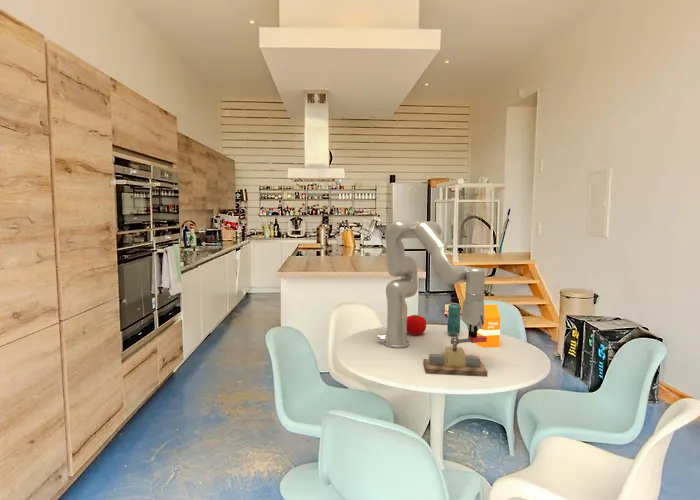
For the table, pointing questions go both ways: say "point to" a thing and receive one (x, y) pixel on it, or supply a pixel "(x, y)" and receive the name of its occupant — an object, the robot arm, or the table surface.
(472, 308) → the robot arm
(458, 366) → the valve
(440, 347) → the table surface
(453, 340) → the lever
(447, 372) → the board
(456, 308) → the beverage bottle
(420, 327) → the tomato
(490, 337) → the orange juice
